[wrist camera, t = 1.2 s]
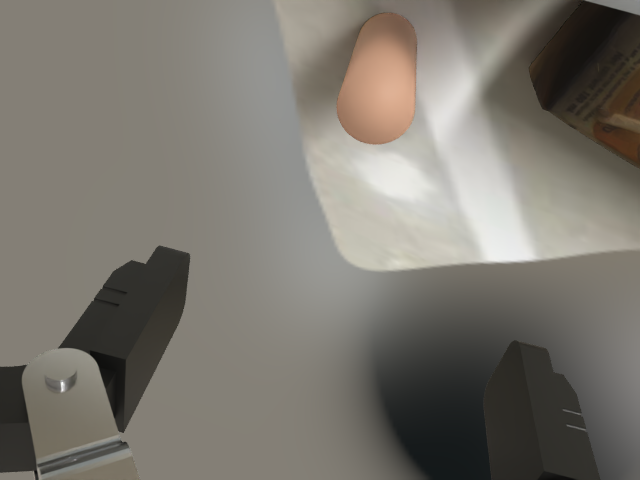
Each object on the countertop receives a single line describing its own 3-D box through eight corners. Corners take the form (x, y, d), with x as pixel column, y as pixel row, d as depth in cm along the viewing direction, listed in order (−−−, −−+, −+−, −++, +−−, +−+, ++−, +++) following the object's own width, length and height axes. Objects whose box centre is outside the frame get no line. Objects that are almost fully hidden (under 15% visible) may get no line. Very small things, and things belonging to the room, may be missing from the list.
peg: (366, 5, 33) (346, 60, 25) (424, 21, 33) (425, 81, 25) (351, 64, 35) (328, 133, 27) (406, 79, 35) (401, 152, 27)
